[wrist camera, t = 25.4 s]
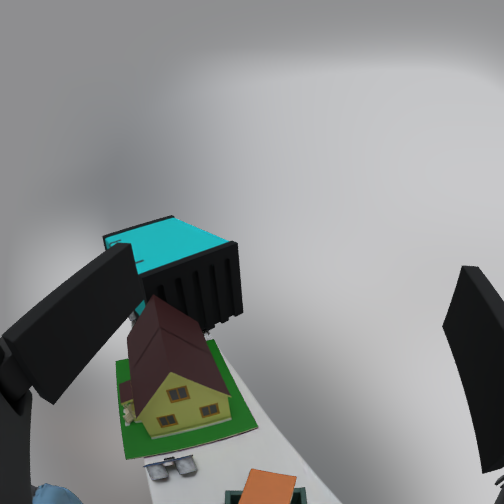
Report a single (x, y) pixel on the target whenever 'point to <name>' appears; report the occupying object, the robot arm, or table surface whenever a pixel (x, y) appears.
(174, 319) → the house model
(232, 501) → the open box
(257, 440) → the table surface
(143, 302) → the electronic device
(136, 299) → the robot arm
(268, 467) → the table surface
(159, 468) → the ultrasonic sensor
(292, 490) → the block
